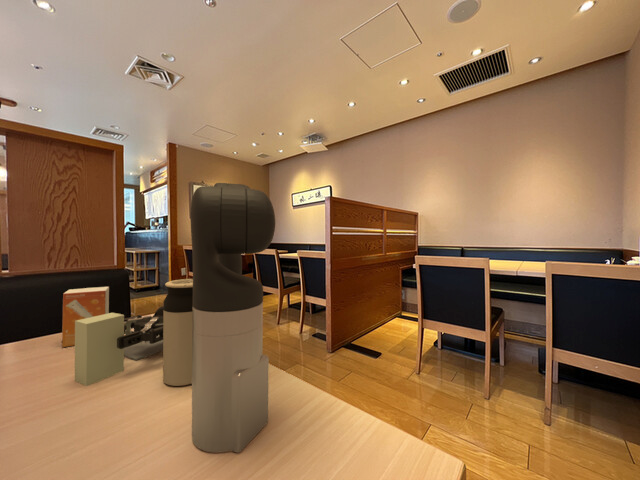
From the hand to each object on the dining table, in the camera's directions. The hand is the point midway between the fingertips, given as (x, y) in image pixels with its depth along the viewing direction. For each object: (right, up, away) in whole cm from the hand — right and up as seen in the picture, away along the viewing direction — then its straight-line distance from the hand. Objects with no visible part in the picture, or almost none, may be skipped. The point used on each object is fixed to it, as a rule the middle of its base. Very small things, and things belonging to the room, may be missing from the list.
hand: (105, 339), depth 50 cm
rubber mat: (-3, -6, +14) cm, 15 cm away
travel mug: (+16, -7, -1) cm, 18 cm away
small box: (-18, -7, +16) cm, 25 cm away
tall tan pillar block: (0, -7, -1) cm, 7 cm away
